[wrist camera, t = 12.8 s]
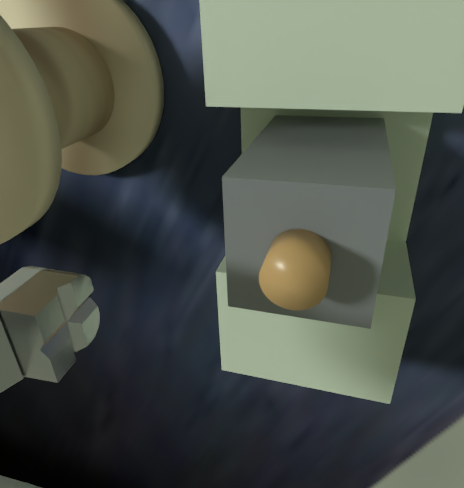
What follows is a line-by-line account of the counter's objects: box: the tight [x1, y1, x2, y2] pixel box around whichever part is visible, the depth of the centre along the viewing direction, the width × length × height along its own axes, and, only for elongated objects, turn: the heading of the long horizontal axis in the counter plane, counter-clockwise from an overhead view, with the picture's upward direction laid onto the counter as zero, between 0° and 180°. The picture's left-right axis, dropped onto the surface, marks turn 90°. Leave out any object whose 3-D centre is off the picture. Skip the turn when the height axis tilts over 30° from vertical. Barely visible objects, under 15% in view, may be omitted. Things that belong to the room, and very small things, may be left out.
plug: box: [222, 115, 396, 329], centre depth 13 cm, size 4×4×8 cm
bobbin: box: [0, 0, 164, 244], centre depth 15 cm, size 8×8×8 cm
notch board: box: [199, 0, 464, 404], centre depth 15 cm, size 7×16×5 cm, turn 2°
